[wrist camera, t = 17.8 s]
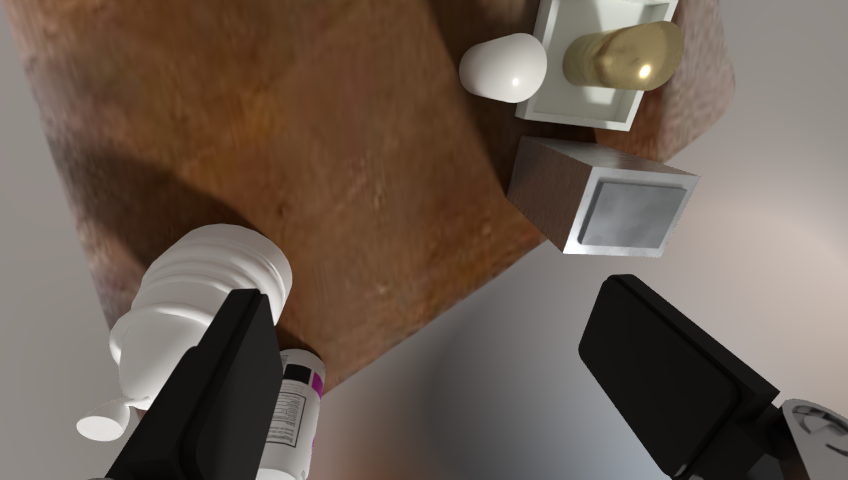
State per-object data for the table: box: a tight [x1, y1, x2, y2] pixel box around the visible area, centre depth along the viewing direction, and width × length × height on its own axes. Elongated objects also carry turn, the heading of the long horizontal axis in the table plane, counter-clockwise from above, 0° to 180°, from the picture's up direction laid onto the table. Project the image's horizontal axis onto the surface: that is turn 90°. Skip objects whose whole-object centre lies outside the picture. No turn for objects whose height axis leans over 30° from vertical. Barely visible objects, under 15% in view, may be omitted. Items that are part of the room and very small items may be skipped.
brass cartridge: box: [562, 21, 684, 91], centre depth 27 cm, size 4×4×9 cm
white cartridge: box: [459, 33, 547, 103], centre depth 27 cm, size 4×4×9 cm
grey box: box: [506, 135, 700, 257], centre depth 31 cm, size 7×9×13 cm
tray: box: [515, 0, 678, 131], centre depth 31 cm, size 11×11×2 cm
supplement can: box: [256, 349, 326, 480], centre depth 39 cm, size 8×8×15 cm
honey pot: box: [77, 224, 292, 441], centre depth 30 cm, size 13×13×18 cm
